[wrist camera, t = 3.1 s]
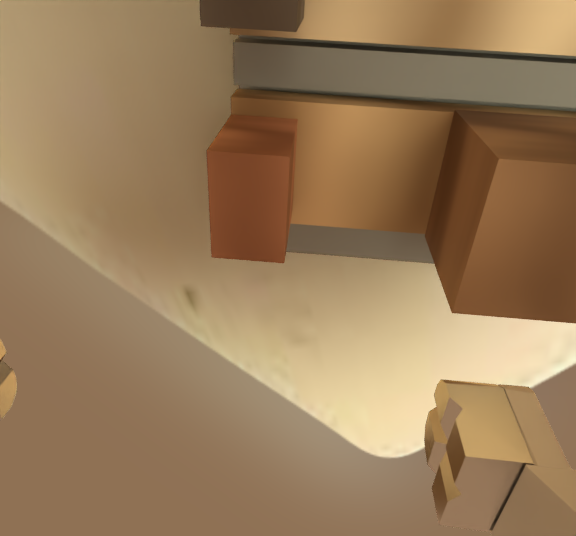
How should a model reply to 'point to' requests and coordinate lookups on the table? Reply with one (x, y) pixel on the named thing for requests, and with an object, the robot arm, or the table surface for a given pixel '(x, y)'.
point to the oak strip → (325, 166)
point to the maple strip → (407, 22)
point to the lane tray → (403, 86)
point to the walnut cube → (507, 216)
